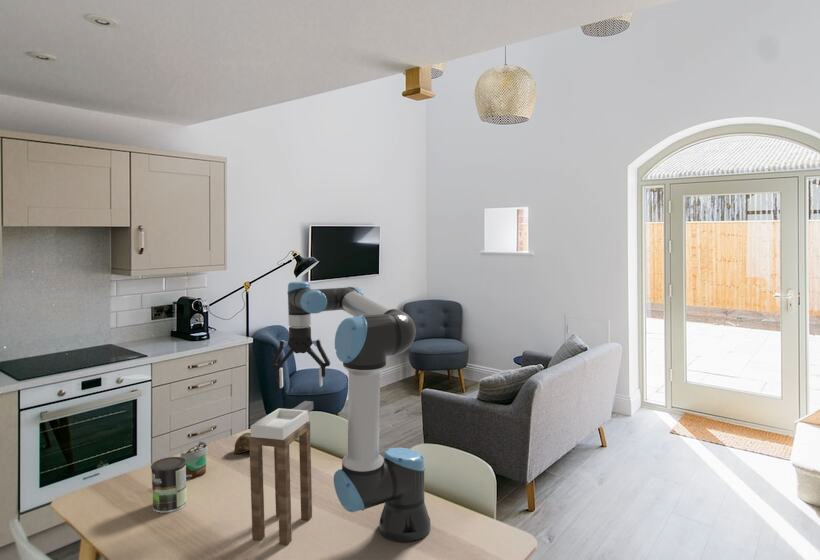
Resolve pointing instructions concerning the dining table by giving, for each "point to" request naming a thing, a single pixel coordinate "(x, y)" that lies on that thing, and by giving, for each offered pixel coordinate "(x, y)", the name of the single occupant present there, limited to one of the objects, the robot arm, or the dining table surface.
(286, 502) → the walnut stand
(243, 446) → the seashell
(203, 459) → the food container
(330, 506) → the dining table surface
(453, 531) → the dining table surface
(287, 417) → the sliding tray
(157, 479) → the coffee can
